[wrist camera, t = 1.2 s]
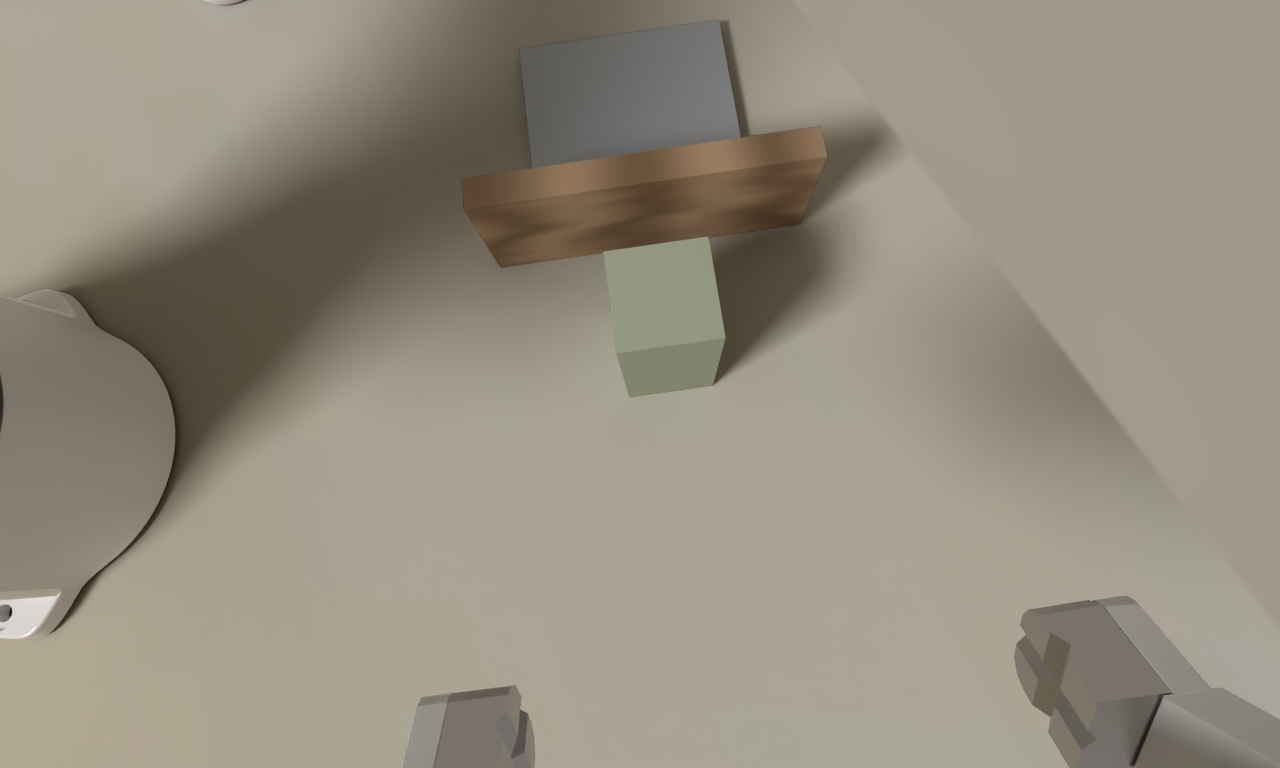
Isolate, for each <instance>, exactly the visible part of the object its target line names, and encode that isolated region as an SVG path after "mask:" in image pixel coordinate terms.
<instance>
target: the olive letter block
mask: <svg viewBox="0 0 1280 768" xmlns="http://www.w3.org/2000/svg"><path fill="white" fill-rule="evenodd" d="M603 256H604V263H605V271H606V279H607V286H608V294H609V302H610V309H611V317H612V324H613V332H614V340H615V347H616V354H617V357H618V361H619V364H620V367H621V371H622V374H623V377H624V380H625V384H626V387H627V390H628V394H629V397H636V396H644V395H651V394H658V393H665V392H672V391H679V390H686V389H693V388H700V387H707V386H713V384H714V380H715V376H716V372H717V369H718V365H719V361H720V357H721V353H722V350H723V346H724V342H725V338H726V337H725V331H724V325H723V319H722V313H721V308H720V302H719V296H718V290H717V284H716V278H715V272H714V266H713V260H712V254H711V248H710V243H709V237H701V238H694V239H687V240H680V241H674V242H667V243H660V244H653V245H646V246H639V247H632V248H625V249H618V250H611V251H604V252H603Z"/></svg>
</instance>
